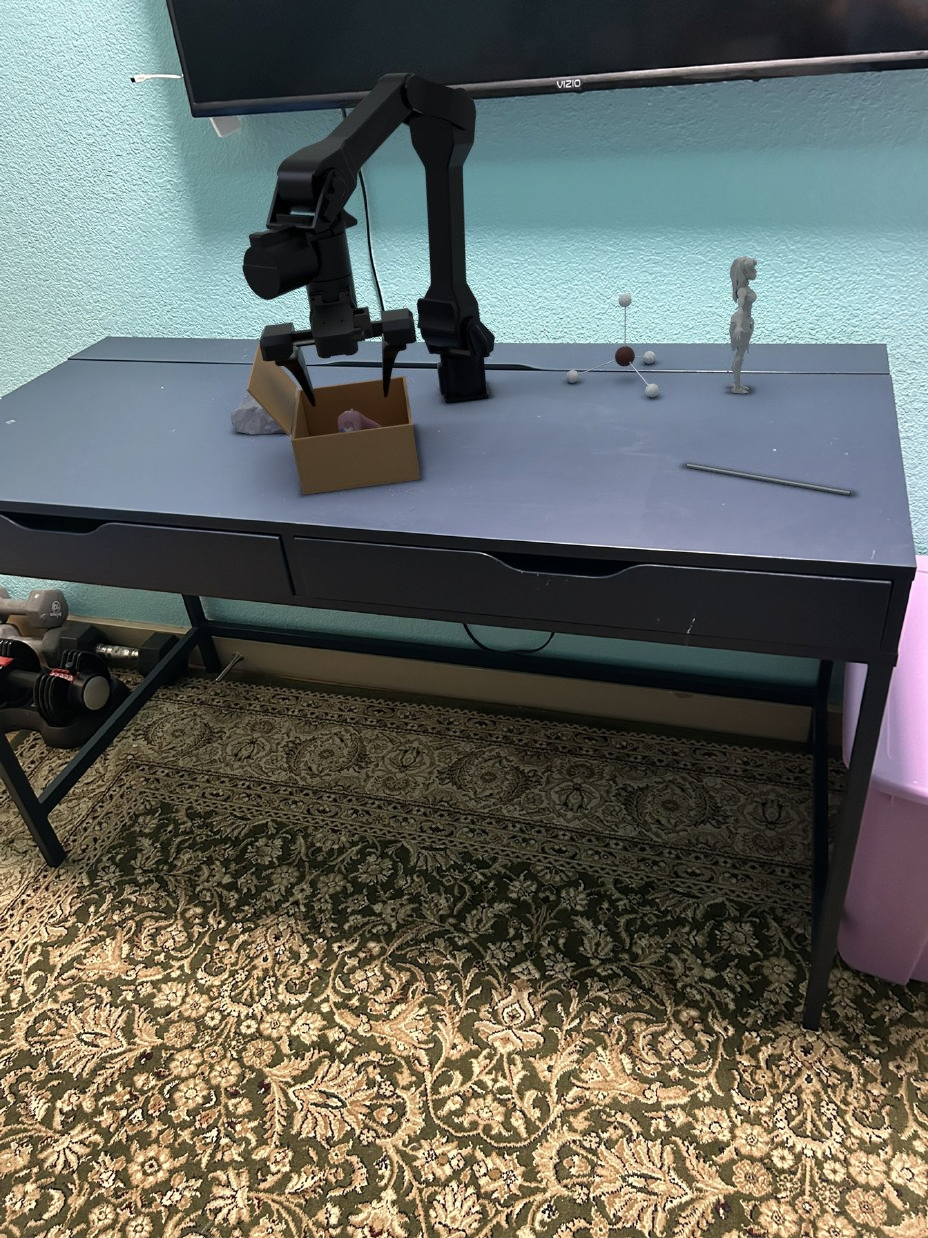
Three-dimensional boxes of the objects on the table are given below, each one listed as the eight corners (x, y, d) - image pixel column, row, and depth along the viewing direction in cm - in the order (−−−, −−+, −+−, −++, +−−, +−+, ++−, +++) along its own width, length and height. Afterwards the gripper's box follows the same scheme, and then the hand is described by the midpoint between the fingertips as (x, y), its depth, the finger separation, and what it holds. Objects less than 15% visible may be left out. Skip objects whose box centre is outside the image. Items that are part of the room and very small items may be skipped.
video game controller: (361, 450, 124) (330, 410, 120) (388, 432, 123) (358, 392, 119) (362, 482, 116) (329, 441, 112) (391, 464, 115) (358, 421, 111)
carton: (420, 479, 113) (412, 424, 109) (303, 495, 112) (290, 440, 108) (412, 426, 127) (405, 375, 122) (307, 440, 126) (297, 389, 122)
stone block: (233, 445, 131) (293, 432, 128) (219, 414, 129) (280, 400, 125) (264, 415, 141) (321, 402, 137) (252, 386, 138) (309, 372, 135)
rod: (850, 498, 100) (851, 492, 99) (686, 469, 109) (686, 464, 109) (851, 495, 100) (852, 490, 100) (688, 467, 109) (688, 462, 109)
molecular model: (564, 381, 135) (561, 296, 127) (651, 360, 139) (653, 276, 131) (608, 411, 124) (608, 320, 117) (701, 387, 128) (706, 297, 121)
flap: (248, 388, 104) (246, 390, 104) (290, 434, 108) (288, 436, 108) (259, 342, 118) (258, 343, 118) (296, 384, 121) (295, 386, 121)
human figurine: (746, 407, 121) (759, 269, 111) (717, 407, 122) (727, 270, 112) (750, 374, 130) (762, 244, 120) (723, 374, 131) (733, 244, 121)
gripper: (242, 304, 99) (273, 435, 108) (410, 283, 99) (427, 416, 108) (251, 277, 108) (279, 401, 117) (405, 258, 108) (421, 383, 118)
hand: (350, 400), depth 115 cm, fingers open, 9 cm apart
